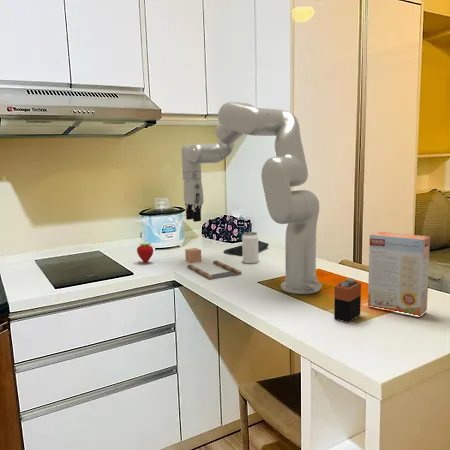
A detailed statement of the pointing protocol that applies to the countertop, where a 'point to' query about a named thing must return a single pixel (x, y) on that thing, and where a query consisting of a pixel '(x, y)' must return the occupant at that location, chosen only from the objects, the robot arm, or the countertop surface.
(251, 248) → the can
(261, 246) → the dark slate chunk
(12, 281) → the countertop surface
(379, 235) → the cracker box
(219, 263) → the channel
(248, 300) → the countertop surface
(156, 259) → the countertop surface
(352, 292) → the battery
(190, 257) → the block
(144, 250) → the strawberry
